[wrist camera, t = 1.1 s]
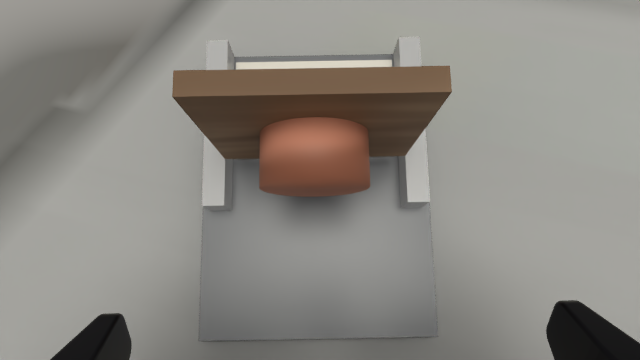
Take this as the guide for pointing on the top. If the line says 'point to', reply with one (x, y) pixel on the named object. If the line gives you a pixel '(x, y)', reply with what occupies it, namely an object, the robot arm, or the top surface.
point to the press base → (316, 238)
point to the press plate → (313, 120)
